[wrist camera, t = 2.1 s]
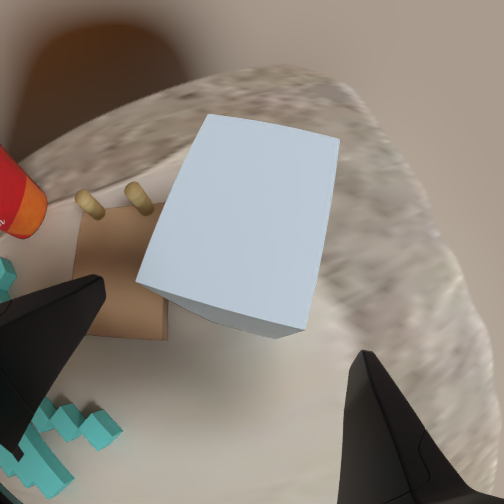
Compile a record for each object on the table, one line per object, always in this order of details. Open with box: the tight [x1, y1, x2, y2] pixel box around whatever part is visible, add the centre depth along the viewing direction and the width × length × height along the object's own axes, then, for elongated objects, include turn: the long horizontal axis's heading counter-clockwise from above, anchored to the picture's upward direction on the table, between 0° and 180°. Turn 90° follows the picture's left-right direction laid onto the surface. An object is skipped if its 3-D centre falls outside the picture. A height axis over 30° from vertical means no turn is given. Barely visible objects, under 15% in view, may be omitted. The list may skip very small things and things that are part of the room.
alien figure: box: [0, 257, 123, 500], centre depth 16 cm, size 20×2×20 cm
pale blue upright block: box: [135, 114, 340, 339], centre depth 14 cm, size 6×4×12 cm
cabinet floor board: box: [72, 182, 168, 340], centre depth 18 cm, size 10×8×4 cm
